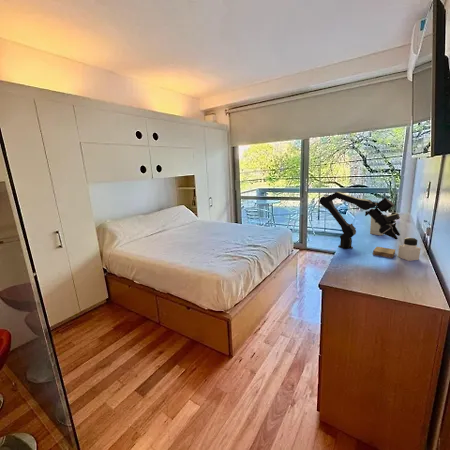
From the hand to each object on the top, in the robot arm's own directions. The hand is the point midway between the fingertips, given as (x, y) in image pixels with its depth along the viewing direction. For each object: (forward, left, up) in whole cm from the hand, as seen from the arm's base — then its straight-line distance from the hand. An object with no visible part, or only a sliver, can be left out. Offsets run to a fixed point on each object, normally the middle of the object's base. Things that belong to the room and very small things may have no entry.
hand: (398, 237), depth 143 cm
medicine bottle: (+3, -5, -12) cm, 13 cm away
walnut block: (-3, +5, -12) cm, 14 cm away
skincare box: (+31, +39, -12) cm, 51 cm away
